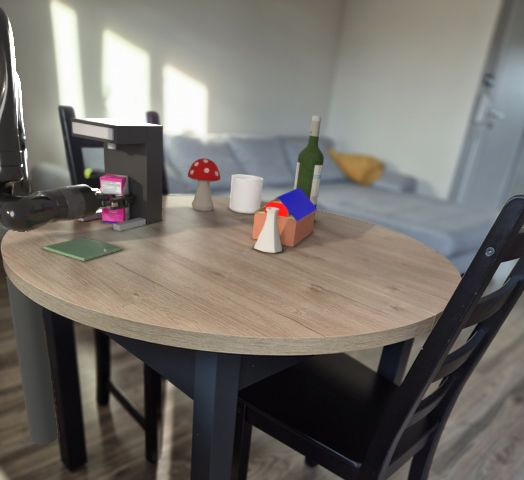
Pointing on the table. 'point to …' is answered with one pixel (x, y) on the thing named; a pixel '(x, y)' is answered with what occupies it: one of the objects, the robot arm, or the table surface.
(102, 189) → the supplement box
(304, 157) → the wine bottle
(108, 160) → the espresso machine
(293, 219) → the house
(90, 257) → the plate
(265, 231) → the flask
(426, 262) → the table surface
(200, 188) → the decorative mushroom
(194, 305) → the table surface
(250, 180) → the mug
